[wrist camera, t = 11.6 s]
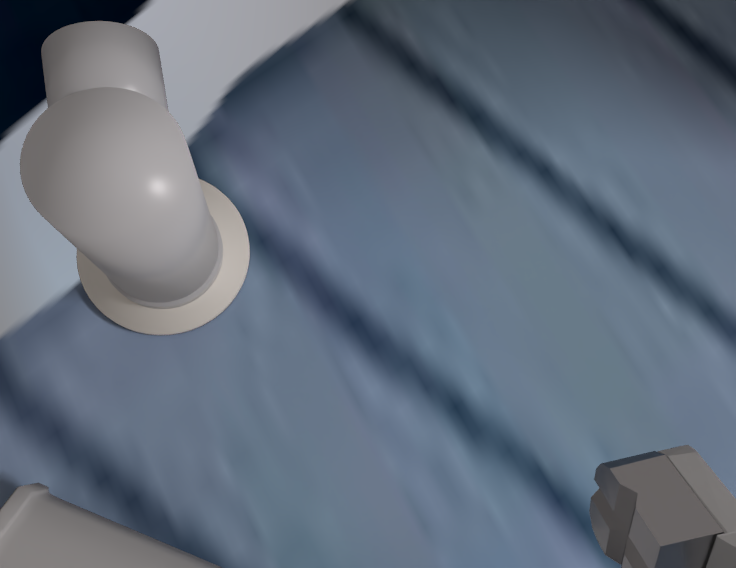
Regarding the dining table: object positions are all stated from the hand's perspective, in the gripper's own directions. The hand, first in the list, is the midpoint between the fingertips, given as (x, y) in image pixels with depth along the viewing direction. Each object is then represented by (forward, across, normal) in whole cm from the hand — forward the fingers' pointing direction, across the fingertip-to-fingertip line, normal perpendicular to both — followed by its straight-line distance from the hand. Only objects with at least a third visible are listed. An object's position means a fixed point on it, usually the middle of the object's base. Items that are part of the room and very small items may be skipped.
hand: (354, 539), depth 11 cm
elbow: (+24, +6, +6) cm, 25 cm away
